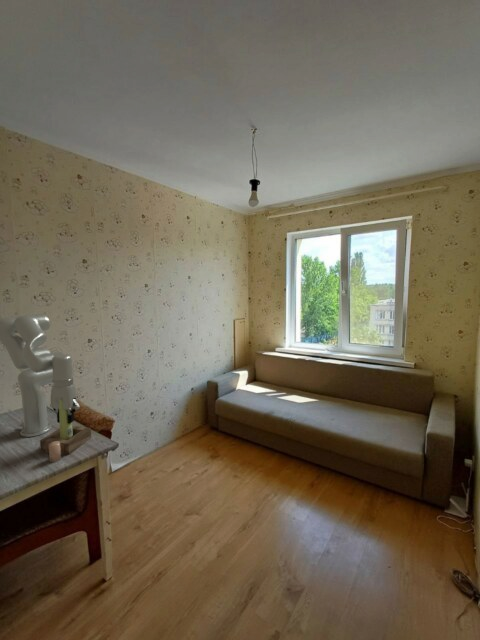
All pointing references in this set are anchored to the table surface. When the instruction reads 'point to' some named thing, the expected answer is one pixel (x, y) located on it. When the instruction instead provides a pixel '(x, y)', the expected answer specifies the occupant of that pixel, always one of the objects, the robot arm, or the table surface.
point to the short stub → (54, 451)
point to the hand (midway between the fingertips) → (65, 421)
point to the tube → (64, 423)
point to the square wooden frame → (69, 445)
